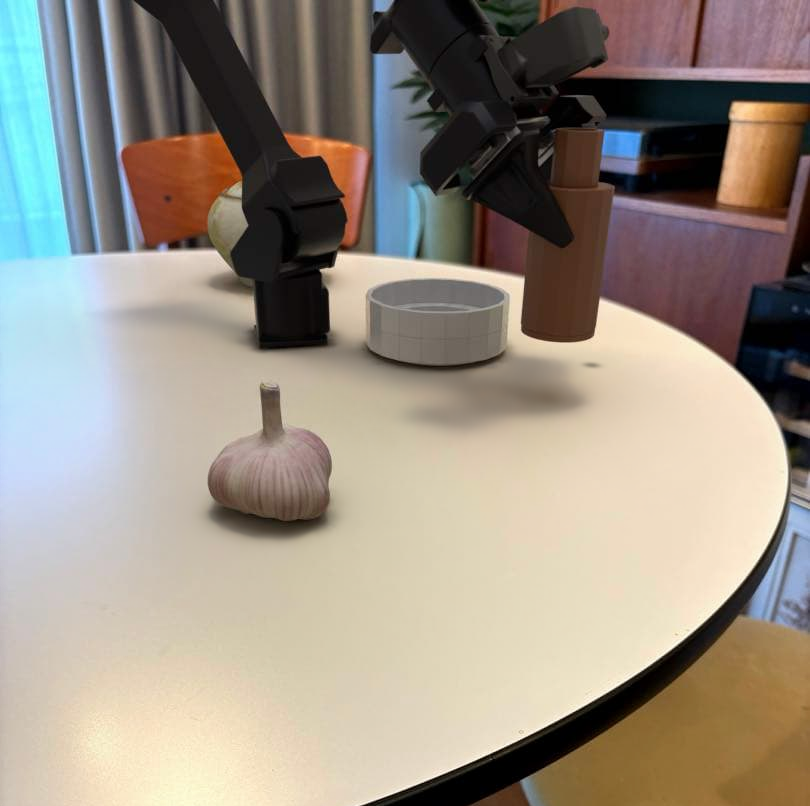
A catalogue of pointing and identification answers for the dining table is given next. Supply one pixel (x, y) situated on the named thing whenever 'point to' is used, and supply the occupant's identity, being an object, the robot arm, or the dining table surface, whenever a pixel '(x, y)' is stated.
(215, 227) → the sugar bowl
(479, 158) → the robot arm
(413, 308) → the dish
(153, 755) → the dining table surface
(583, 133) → the bottle
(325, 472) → the garlic bulb
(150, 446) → the dining table surface
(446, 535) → the dining table surface
